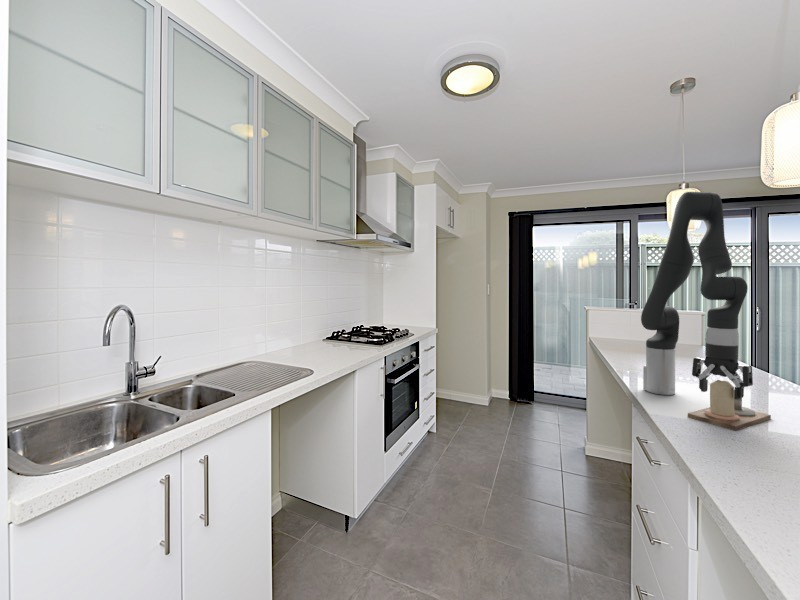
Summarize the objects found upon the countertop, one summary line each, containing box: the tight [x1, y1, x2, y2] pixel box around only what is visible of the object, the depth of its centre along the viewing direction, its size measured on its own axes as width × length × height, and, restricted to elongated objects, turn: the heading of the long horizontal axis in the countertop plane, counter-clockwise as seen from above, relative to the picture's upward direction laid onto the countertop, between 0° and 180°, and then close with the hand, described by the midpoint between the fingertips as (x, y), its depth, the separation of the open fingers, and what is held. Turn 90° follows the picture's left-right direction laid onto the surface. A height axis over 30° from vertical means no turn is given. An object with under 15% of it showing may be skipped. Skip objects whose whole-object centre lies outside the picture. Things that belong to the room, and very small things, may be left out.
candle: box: [709, 379, 735, 416], centre depth 111 cm, size 6×6×10 cm
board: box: [687, 388, 772, 431], centre depth 113 cm, size 12×20×8 cm, turn 114°
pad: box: [705, 409, 739, 421], centre depth 111 cm, size 8×8×1 cm
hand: (720, 395), depth 111 cm, fingers open, 8 cm apart
